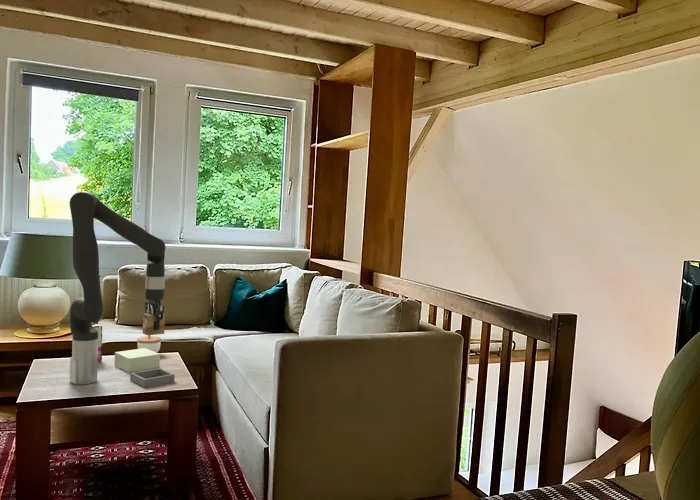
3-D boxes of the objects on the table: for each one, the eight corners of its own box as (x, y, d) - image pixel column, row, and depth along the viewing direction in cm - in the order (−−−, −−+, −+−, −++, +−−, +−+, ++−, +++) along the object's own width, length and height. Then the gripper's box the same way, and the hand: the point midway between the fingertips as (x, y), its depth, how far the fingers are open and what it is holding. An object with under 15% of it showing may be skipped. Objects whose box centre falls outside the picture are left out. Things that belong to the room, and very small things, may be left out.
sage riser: (128, 372, 241) (129, 358, 240) (114, 365, 250) (114, 352, 250) (159, 367, 251) (159, 354, 250) (144, 360, 260) (145, 348, 260)
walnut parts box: (164, 333, 231) (164, 314, 231) (147, 335, 227) (147, 315, 226) (159, 331, 235) (159, 312, 235) (142, 333, 230) (142, 313, 230)
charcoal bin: (143, 387, 222) (144, 379, 221) (130, 380, 230) (130, 373, 230) (174, 381, 231) (174, 374, 231) (160, 375, 239) (160, 368, 239)
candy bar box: (96, 359, 260) (97, 323, 259) (102, 361, 257) (103, 325, 256) (72, 363, 251) (72, 326, 250) (77, 365, 248) (78, 328, 247)
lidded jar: (138, 358, 265) (138, 338, 265) (135, 352, 275) (136, 333, 274) (161, 356, 270) (162, 337, 269) (159, 351, 280) (159, 332, 279)
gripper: (171, 289, 227) (170, 331, 228) (156, 285, 238) (155, 325, 239) (153, 289, 222) (151, 332, 223) (138, 285, 233) (137, 326, 234)
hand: (153, 328), depth 231 cm, fingers closed on walnut parts box, 5 cm apart
